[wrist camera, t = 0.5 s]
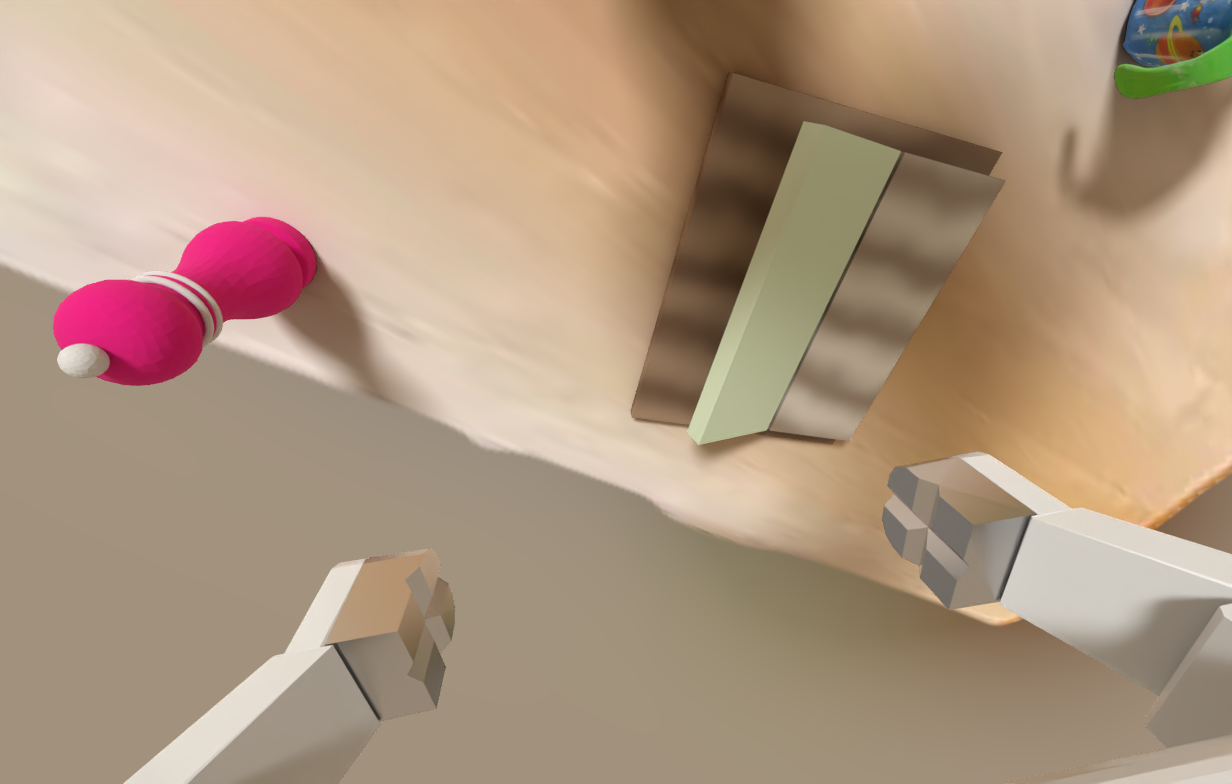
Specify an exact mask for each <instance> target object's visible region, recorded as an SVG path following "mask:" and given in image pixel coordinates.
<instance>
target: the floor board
mask: <svg viewBox="0 0 1232 784" xmlns="http://www.w3.org/2000/svg"><path fill="white" fill-rule="evenodd" d="M803 121H806V122H811V123H816V124H821V125H827V126H829V127H832V128H835V129H838V130H841V131H844V132H847V133H850V134H853V135H856V136H858V137H861V138H864V139H867V140H870V141H873V142H876V143H879V144H882V145H885V146H888V147H890V148H893V149H896V150H899V151H901V153H900V155H899V157H898V159H897V161H896V163H895V165H894V167H893V169H892V171H891V174H890V176H889V178H888V180H887V182H886V184H885V186H884V188H883V190H882V192H881V194H880V196H879V198H878V201H877V203H876V205H875V207H874V209H873V211H872V213H871V215H870V217H869V219H868V221H867V223H866V225H865V227H864V230H863V232H862V234H861V236H860V238H859V240H858V242H857V244H856V246H855V248H854V250H853V252H852V254H851V257H850V259H849V261H848V263H847V265H846V267H845V269H844V271H843V273H842V275H841V277H840V279H839V281H838V283H837V286H836V288H835V290H834V292H833V294H832V296H831V298H830V300H829V302H828V304H827V306H826V308H825V310H824V313H823V315H822V317H821V319H820V321H819V323H818V325H817V327H816V329H815V331H814V333H813V335H812V337H811V339H810V342H809V344H808V346H807V348H806V350H805V352H804V354H803V356H802V358H801V360H800V362H799V364H798V366H797V369H796V371H795V373H794V375H793V377H792V379H791V381H790V383H789V385H788V387H787V389H786V391H785V393H784V395H783V398H782V400H781V402H780V404H779V406H778V408H777V410H776V412H775V414H774V416H773V418H772V420H771V422H770V425H769V427H768V429H767V430H766V431H761V432H757V433H754V434H761V435H769V436H776V437H784V438H792V439H799V440H807V441H814V442H822V443H830V444H833V442H834V441H835V439H836V440H844V441H849V440H850V439H851V437H852V435H853V434H854V432H855V430H856V429H857V427H858V425H859V424H860V422H861V420H862V419H863V417H864V415H865V414H866V412H867V410H868V409H869V407H870V405H871V404H872V402H873V401H874V399H875V397H876V396H877V394H878V392H879V391H880V389H881V387H882V386H883V384H884V382H885V381H886V379H887V377H888V376H889V374H890V372H891V371H892V369H893V367H894V366H895V364H896V362H897V361H898V359H899V357H900V356H901V354H902V352H903V351H904V349H905V347H906V346H907V344H908V342H909V341H910V339H911V337H912V336H913V334H914V332H915V331H916V329H917V327H918V326H919V324H920V323H921V321H922V319H923V318H924V316H925V314H926V313H927V311H928V309H929V308H930V306H931V304H932V303H933V301H934V299H935V298H936V296H937V294H938V293H939V291H940V289H941V288H942V286H943V284H944V283H945V281H946V279H947V278H948V276H949V274H950V273H951V271H952V269H953V268H954V266H955V264H956V263H957V261H958V259H959V258H960V256H961V254H962V253H963V251H964V250H965V248H966V246H967V245H968V243H969V241H970V240H971V238H972V236H973V235H974V233H975V231H976V230H977V228H978V226H979V225H980V223H981V221H982V220H983V218H984V216H985V215H986V213H987V211H988V210H989V208H990V206H991V205H992V203H993V201H994V200H995V198H996V196H997V195H998V193H999V191H1000V190H1001V188H1002V186H1003V185H1004V183H1005V180H1001V179H998V178H994V177H991V176H989V174H990V173H991V171H992V169H993V167H994V166H995V164H996V162H997V161H998V159H999V157H1000V155H1001V154H1002V152H999V151H996V150H992V149H989V148H986V147H982V146H979V145H975V144H972V143H969V142H965V141H962V140H959V139H955V138H952V137H948V136H945V135H942V134H938V133H935V132H932V131H928V130H925V129H921V128H918V127H915V126H911V125H908V124H905V123H901V122H898V121H894V120H891V119H888V118H884V117H881V116H878V115H874V114H871V113H867V112H864V111H861V110H857V109H854V108H851V107H847V106H844V105H840V104H837V103H834V102H830V101H827V100H824V99H820V98H817V97H813V96H810V95H807V94H803V93H800V92H797V91H793V90H790V89H786V88H783V87H780V86H776V85H773V84H770V83H766V82H763V81H759V80H756V79H753V78H749V77H746V76H743V75H739V74H736V73H729V74H728V77H727V81H726V84H725V88H724V91H723V94H722V98H721V101H720V105H719V108H718V112H717V115H716V119H715V122H714V125H713V129H712V132H711V136H710V139H709V143H708V146H707V150H706V153H705V156H704V160H703V163H702V167H701V170H700V174H699V177H698V181H697V184H696V187H695V191H694V194H693V198H692V201H691V205H690V208H689V212H688V215H687V218H686V222H685V225H684V229H683V232H682V236H681V239H680V243H679V246H678V250H677V253H676V256H675V260H674V263H673V267H672V270H671V274H670V277H669V281H668V284H667V287H666V291H665V294H664V298H663V301H662V305H661V308H660V312H659V315H658V318H657V322H656V325H655V329H654V332H653V336H652V339H651V343H650V346H649V349H648V353H647V356H646V360H645V363H644V367H643V370H642V374H641V377H640V380H639V384H638V387H637V391H636V394H635V398H634V401H633V405H632V408H631V416H632V418H640V419H647V420H655V421H663V422H670V423H678V424H685V425H690V423H691V420H692V417H693V415H694V412H695V409H696V407H697V404H698V401H699V399H700V396H701V393H702V391H703V388H704V385H705V383H706V380H707V377H708V375H709V372H710V369H711V367H712V364H713V361H714V359H715V356H716V353H717V351H718V348H719V345H720V343H721V340H722V337H723V335H724V332H725V329H726V327H727V324H728V321H729V319H730V316H731V313H732V311H733V308H734V305H735V303H736V300H737V297H738V295H739V292H740V289H741V287H742V284H743V281H744V279H745V276H746V273H747V271H748V268H749V265H750V263H751V260H752V257H753V255H754V252H755V249H756V247H757V244H758V241H759V239H760V236H761V233H762V231H763V228H764V225H765V223H766V220H767V217H768V215H769V212H770V209H771V207H772V204H773V201H774V199H775V196H776V193H777V191H778V188H779V185H780V183H781V180H782V177H783V175H784V172H785V169H786V167H787V164H788V161H789V159H790V156H791V153H792V151H793V148H794V145H795V143H796V140H797V137H798V135H799V132H800V129H801V127H802V124H803Z"/></svg>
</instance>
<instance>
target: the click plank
mask: <svg viewBox="0 0 1232 784" xmlns="http://www.w3.org/2000/svg"><path fill="white" fill-rule="evenodd" d="M900 153H901V151H899V150H896V149H893V148H890V147H888V146H885V145H882V144H879V143H876V142H873V141H870V140H867V139H864V138H861V137H858V136H856V135H853V134H850V133H847V132H844V131H841V130H838V129H835V128H832V127H829V126H827V125H821V124H816V123H811V122H806V121H803V124H802V127H801V129H800V132H799V135H798V137H797V140H796V143H795V145H794V148H793V151H792V153H791V156H790V159H789V161H788V164H787V167H786V169H785V172H784V175H783V177H782V180H781V183H780V185H779V188H778V191H777V193H776V196H775V199H774V201H773V204H772V207H771V209H770V212H769V215H768V217H767V220H766V223H765V225H764V228H763V231H762V233H761V236H760V239H759V241H758V244H757V247H756V249H755V252H754V255H753V257H752V260H751V263H750V265H749V268H748V271H747V273H746V276H745V279H744V281H743V284H742V287H741V289H740V292H739V295H738V297H737V300H736V303H735V305H734V308H733V311H732V313H731V316H730V319H729V321H728V324H727V327H726V329H725V332H724V335H723V337H722V340H721V343H720V345H719V348H718V351H717V353H716V356H715V359H714V361H713V364H712V367H711V369H710V372H709V375H708V377H707V380H706V383H705V385H704V388H703V391H702V393H701V396H700V399H699V401H698V404H697V407H696V409H695V412H694V415H693V417H692V420H691V423H690V425H689V428H688V431H687V434H688V435H689V436H690V437H691V438H692V439H693V440H694V441H695V442H696V443H697V444H698V445H701V444H706V443H710V442H715V441H720V440H724V439H729V438H734V437H738V436H743V435H748V434H752V433H757V432H761V431H766V430H767V429H768V427H769V425H770V422H771V420H772V418H773V416H774V414H775V412H776V410H777V408H778V406H779V404H780V402H781V400H782V398H783V395H784V393H785V391H786V389H787V387H788V385H789V383H790V381H791V379H792V377H793V375H794V373H795V371H796V369H797V366H798V364H799V362H800V360H801V358H802V356H803V354H804V352H805V350H806V348H807V346H808V344H809V342H810V339H811V337H812V335H813V333H814V331H815V329H816V327H817V325H818V323H819V321H820V319H821V317H822V315H823V313H824V310H825V308H826V306H827V304H828V302H829V300H830V298H831V296H832V294H833V292H834V290H835V288H836V286H837V283H838V281H839V279H840V277H841V275H842V273H843V271H844V269H845V267H846V265H847V263H848V261H849V259H850V257H851V254H852V252H853V250H854V248H855V246H856V244H857V242H858V240H859V238H860V236H861V234H862V232H863V230H864V227H865V225H866V223H867V221H868V219H869V217H870V215H871V213H872V211H873V209H874V207H875V205H876V203H877V201H878V198H879V196H880V194H881V192H882V190H883V188H884V186H885V184H886V182H887V180H888V178H889V176H890V174H891V171H892V169H893V167H894V165H895V163H896V161H897V159H898V157H899V155H900Z"/></svg>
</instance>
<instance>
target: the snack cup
mask: <svg viewBox="0 0 1232 784" xmlns="http://www.w3.org/2000/svg"><path fill="white" fill-rule="evenodd" d="M1123 46H1124V48H1125V49H1126V52H1127V53H1129V54H1130V55H1131V57H1132V58H1133V59H1134V60H1135V61H1136V62H1137V63H1139V64H1141V65H1144V66H1149V67H1154V68H1144V67H1140V66H1136V65H1131V64H1121V65H1119V66H1118V67H1117V68H1116V70H1115V73H1114V79H1115V81H1116V86H1117V89H1118V90H1119V92H1120V93H1121V94H1122V95H1123V96H1125V97H1127V98H1134V99H1137V98H1142V97H1148V96H1153V95H1157V94H1162V93H1167V92H1172V91H1177V90H1182V89H1187V88H1192V87H1197V86H1201V85H1205V84H1209V83H1213V82H1216V81H1220V80H1223V79H1226V78H1229V77H1232V0H1137V1H1136V3H1135V5H1134V6H1133V9H1132V11H1131V15H1130V18H1129V21H1128V25H1127V32H1126V38H1125V42H1124V43H1123Z"/></svg>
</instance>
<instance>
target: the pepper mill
mask: <svg viewBox="0 0 1232 784" xmlns="http://www.w3.org/2000/svg"><path fill="white" fill-rule="evenodd" d="M316 268H317V266H316V257H315V254H314V251H313V249H312V247H311V246H310V244H309V242H308V241H307V240H306V239H305V237H304V236H303V235H302V234H301V233H300V232H299V231H297V230H296V229H295V228H293V227H292V226H290V225H289V224H287V223H285V222H283V221H280V220H277V219H273V218H269V217H256V218H252V219H249V220H246V221H244V222H238V221H229V222H222V223H217V224H214V225H212V226H210V227H208V228H206V229H205V230H203V231H201V232H200V233H198V234H197V235H196V236H195V237H194V238H193V239H192V240H191V242H190V243H189V244H188V245H187V247H186V249H185V250H184V253H183V255H182V258H181V261H180V263H179V265H178V267H177V269H176V270H175V271H173V272H165V271H151V272H146V273H143V274H141V275H139V276H137V277H134V278H131V279H129V280H104V281H100V282H96V283H92V284H89V285H86V286H84V287H82V288H80V289H79V290H77V291H75V292H73V293H72V294H70V295H69V296H68V297H67V298H66V299H65V300H64V301H63V302H62V303H61V304H60V305H59V307H58V309H57V311H56V313H55V315H54V323H53V330H54V336H55V338H56V341H57V343H58V345H59V347H60V348H61V349H62V351H61V352H60V353H59V356H58V358H57V361H58V364H59V366H60V368H61V369H62V370H63V371H64V372H65V373H67V374H69V375H71V376H74V377H78V378H91V377H98V378H100V379H103V380H105V381H109V382H114V383H118V384H122V385H136V386H140V385H151V384H156V383H161V382H164V381H167V380H170V379H172V378H175V377H176V376H178V375H180V374H182V373H184V372H185V371H187V370H188V369H189V368H190V367H191V366H192V365H193V364H194V363H195V362H196V361H197V359H198V357H199V355H200V353H201V351H202V348H203V347H205V346H206V345H207V344H208V343H210V342H212V341H213V340H215V339H216V338H217V337H218V336H219V334H220V332H221V330H222V327H223V323H224V322H225V321H227V320H230V319H257V318H263V317H268V316H271V315H275V314H277V313H279V312H281V311H283V310H284V309H286V308H288V307H290V306H291V305H292V304H293V303H294V302H295V301H296V300H297V298H298V297H299V295H300V293H301V289H303V288H304V287H305V286H307V285H308V284H309V283H310V282H311V281H312V280H313V278H314V276H315V273H316Z"/></svg>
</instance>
